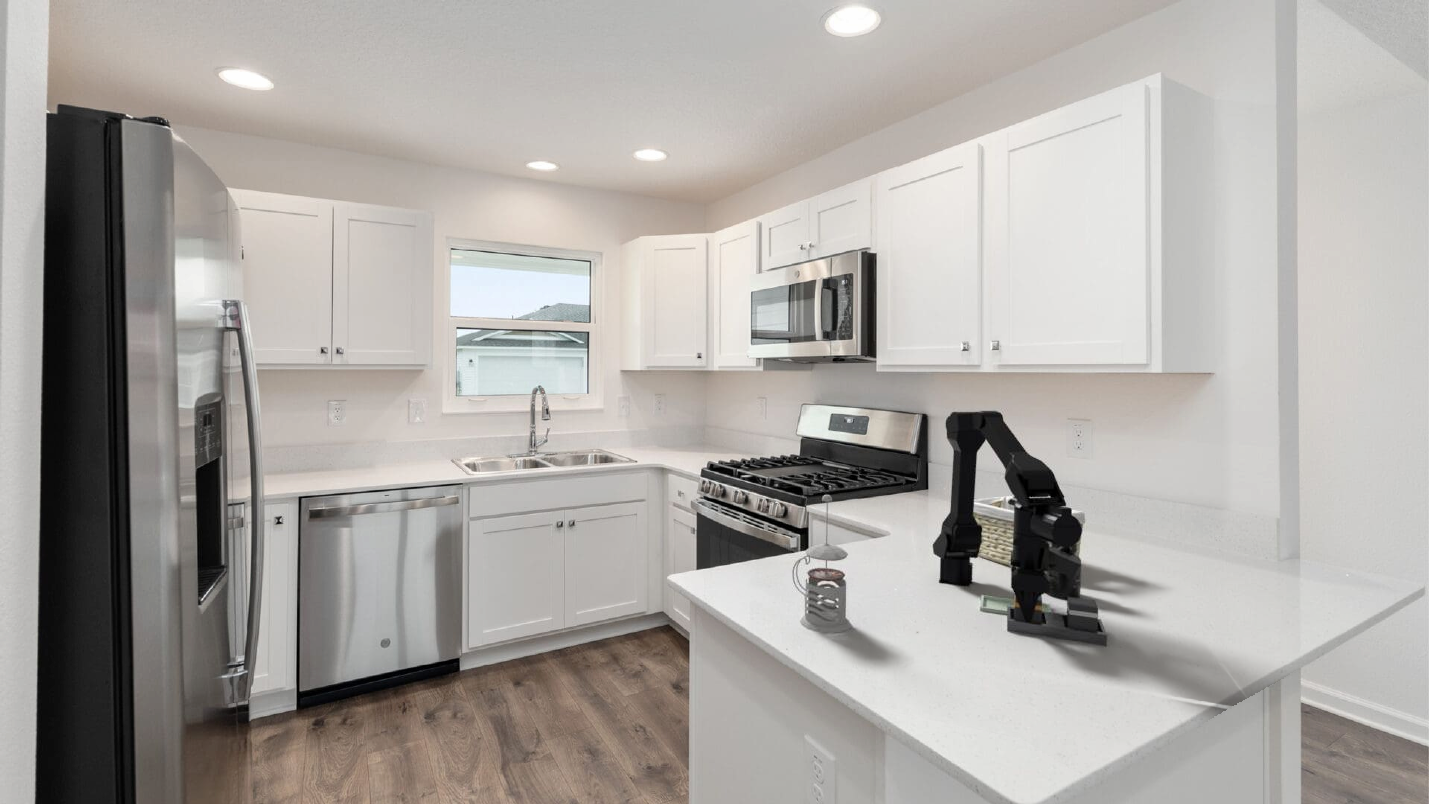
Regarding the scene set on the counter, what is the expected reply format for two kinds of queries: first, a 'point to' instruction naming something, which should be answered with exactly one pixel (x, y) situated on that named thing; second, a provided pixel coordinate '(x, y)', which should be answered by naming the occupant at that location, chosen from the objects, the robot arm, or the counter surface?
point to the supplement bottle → (1064, 581)
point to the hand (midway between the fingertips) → (1027, 614)
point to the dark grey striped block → (1036, 616)
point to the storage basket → (1002, 528)
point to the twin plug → (1082, 614)
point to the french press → (824, 589)
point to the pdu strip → (1056, 628)
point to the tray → (1002, 604)
